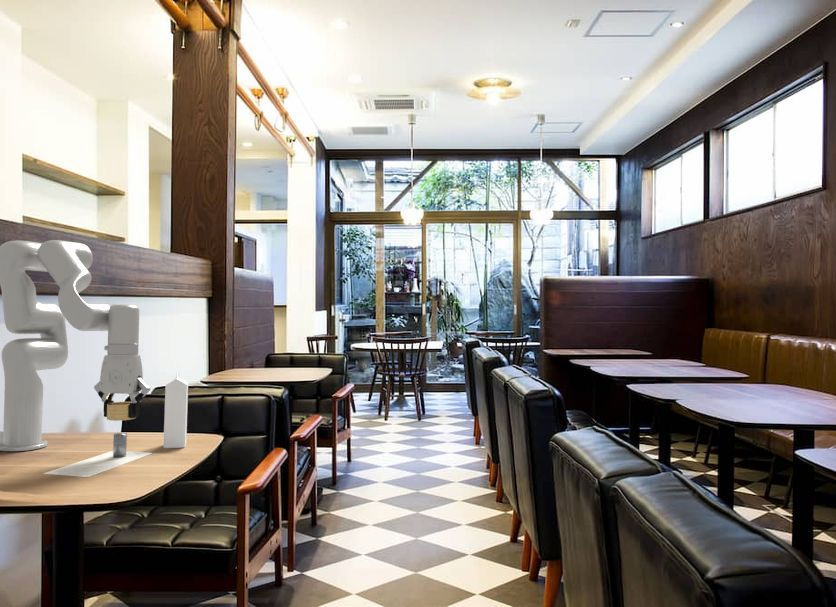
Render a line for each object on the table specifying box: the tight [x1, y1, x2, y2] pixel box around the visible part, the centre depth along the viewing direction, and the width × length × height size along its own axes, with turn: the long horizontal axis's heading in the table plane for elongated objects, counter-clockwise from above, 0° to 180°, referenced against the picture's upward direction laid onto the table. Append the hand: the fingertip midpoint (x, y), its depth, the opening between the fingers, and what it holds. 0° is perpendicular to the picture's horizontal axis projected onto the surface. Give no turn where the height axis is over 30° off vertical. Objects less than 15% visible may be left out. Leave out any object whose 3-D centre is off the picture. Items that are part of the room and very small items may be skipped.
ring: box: [106, 401, 136, 422], centre depth 167 cm, size 7×7×4 cm
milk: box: [163, 372, 189, 449], centre depth 188 cm, size 6×6×22 cm
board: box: [42, 450, 153, 478], centre depth 160 cm, size 12×26×2 cm, turn 170°
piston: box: [112, 432, 128, 458], centre depth 167 cm, size 3×3×6 cm
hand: (121, 416), depth 167 cm, fingers closed on ring, 6 cm apart
